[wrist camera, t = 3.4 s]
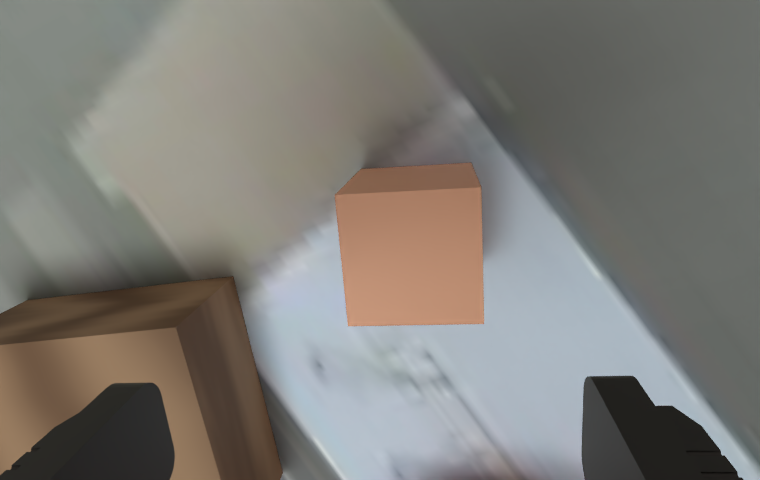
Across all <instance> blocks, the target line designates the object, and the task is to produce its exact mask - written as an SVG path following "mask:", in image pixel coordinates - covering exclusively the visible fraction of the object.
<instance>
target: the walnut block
mask: <svg viewBox="0 0 760 480" xmlns="http://www.w3.org/2000/svg"><path fill="white" fill-rule="evenodd" d="M114 383H154V384H156V385H157V386H158V388H159V390H160V392H161V395H162V399H163V403H164V408H165V412H166V416H167V420H168V424H169V429H170V433H171V437H172V441H173V445H174V451H175V461H174V468H173V472H172V475H171V478H170V480H280V478H281V476H282V473H283V472H282V468H281V464H280V460H279V456H278V452H277V448H276V444H275V440H274V436H273V432H272V428H271V424H270V420H269V416H268V412H267V408H266V404H265V400H264V397H263V393H262V389H261V385H260V381H259V377H258V373H257V369H256V365H255V361H254V357H253V353H252V349H251V345H250V341H249V337H248V333H247V329H246V325H245V321H244V317H243V314H242V310H241V306H240V302H239V298H238V294H237V290H236V286H235V282H234V278H233V276H232V277H223V278H215V279H206V280H197V281H189V282H180V283H171V284H163V285H154V286H146V287H137V288H128V289H120V290H111V291H102V292H94V293H85V294H77V295H68V296H59V297H51V298H42V299H33V300H26V301H24V302H23V303H21V304H19V305H17V306H15V307H13V308H11V309H9V310H7V311H5V312H3V313H1V314H0V475H1V474H2V473H3V472H4V471H6V470H10V469H11V467H12V466H11V465H12V464H13V463H15V462H16V461H17V460H18V459H19V458H20V457H21V456H23V455H24V454H25V453H26V452H30V451H31V448H32V447H33V446H34V445H35V444H36V443H37V442H38V441H39V440H41V439H42V438H43V437H44V436H45V435H46V434H47V433H48V432H50V431H51V430H52V429H53V428H54V427H56V426H57V425H59V424H61V423H62V422H64V421H66V420H67V419H69V418H71V417H73V416H74V415H76V414H78V413H79V412H80V411H82V410H83V409H84V408H85V407H86V406H87V405H88V404H89V403H90V402H91V401H93V400H94V399H95V398H96V397H97V396H98V395H99V394H100V393H101V392H103V391H104V390H105V389H106V388H107V387H108V386H110V385H111V384H114Z"/></svg>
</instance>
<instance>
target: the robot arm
mask: <svg viewBox="0 0 760 480" xmlns="http://www.w3.org/2000/svg"><path fill="white" fill-rule="evenodd" d="M174 461H175V451H174V445H173V441H172V437H171V433H170V429H169V424H168V420H167V416H166V412H165V408H164V403H163V399H162V395H161V392H160V390H159V388H158V386H157V385H156V384H154V383H114V384H111V385H110V386H108V387H107V388H106V389H105V390H104V391H103V392H101V393H100V394H99V395H98V396H97V397H96V398H95V399H94V400H93V401H91V402H90V403H89V404H88V405H87V406H86V407H85V408H84V409H83V410H82V411H80V412H79V413H78V414H76V415H74V416H73V417H71V418H69V419H67V420H66V421H64V422H62V423H61V424H59V425H57V426H56V427H54V428H53V429H52V430H51V431H50V432H48V433H47V434H46V435H45V436H44V437H43V438H42V439H41V440H39V441H38V442H37V443H36V444H35V445H34V446H33V447H32V448H31V451H30V452H26V453H25V454H24V455H23V456H21V457H20V458H19V459H18V460H17V461H16V462H15V463H13V464H12V465H11V466H12V467H11V469H10V470H6V471H4V472H3V473H2V474H1V475H0V480H170V478H171V475H172V472H173V468H174ZM582 464H583V471H584V476H585V480H743V479H742V478H739V477H738V474H737V471H736V470H735V468H734V467H733V466H732V465H731V463H730V462H729V461H728V459H727V458H726V457H725V456H722V455H721V451H720V449H719V448H718V447H717V445H716V444H715V443H714V442H713V440H712V439H711V438H710V436H709V435H708V434H707V433H706V431H705V430H704V429H703V428H702V426H701V425H699V424H698V423H696V422H695V421H693V420H692V419H690V418H689V417H687V416H686V415H685V414H683V413H682V412H680V411H679V410H677V409H676V408H674V407H673V406H655V405H654V404H653V402H652V401H651V399H650V398H649V396H648V395H647V394H646V392H645V391H644V389H643V388H642V386H641V385H640V383H639V382H638V380H637V379H636V378H635V377H634V376H590V377H587V378H586V379H585V382H584V393H583V425H582Z"/></svg>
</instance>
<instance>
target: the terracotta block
mask: <svg viewBox="0 0 760 480" xmlns="http://www.w3.org/2000/svg"><path fill="white" fill-rule="evenodd" d="M335 203H336V213H337V222H338V232H339V242H340V252H341V261H342V271H343V281H344V291H345V300H346V310H347V320H348V326H387V325H446V324H484V296H483V246H482V196H481V185H480V183H479V180H478V178H477V175H476V173H475V170H474V168H473V166H472V163H455V164H438V165H421V166H404V167H387V168H371V169H361V170H360V171H358V172H357V173H356V174H355V175H354V176H353V177H352V178H351V179H350V180H349V181H348V182H347V183H346V184H345V185H344V186H343V187H342V188H341V189H340V190H339V191H338V192H337V193H336V194H335Z"/></svg>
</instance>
